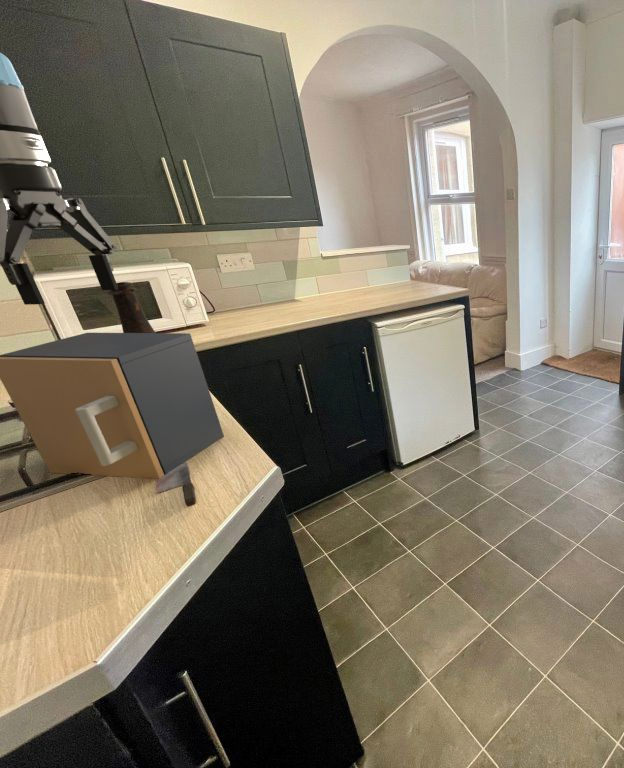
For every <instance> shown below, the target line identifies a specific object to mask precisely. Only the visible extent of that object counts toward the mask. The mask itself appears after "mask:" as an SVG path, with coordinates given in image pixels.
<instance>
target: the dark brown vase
mask: <svg viewBox="0 0 624 768" xmlns="http://www.w3.org/2000/svg"><path fill="white" fill-rule="evenodd" d="M116 283H117V286H118V290H108V291H107V292H106V294H107V295H111V296H112V298H113V301H114V304H115V308H116V310H117V313H118V317H119V320H120V324H121V328H122V333H157V332H156V331H155V329H154V327H152V325H151V323H150V322H149V319H148V318H147V316H146V314H145V312H144V310H143V308H142V306H141V303H140V302H139V300H138V298H137V295H136V292H137V291H139V289H138V288H135V287H133V283H132V282H129V281H121V282H116Z"/></svg>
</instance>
